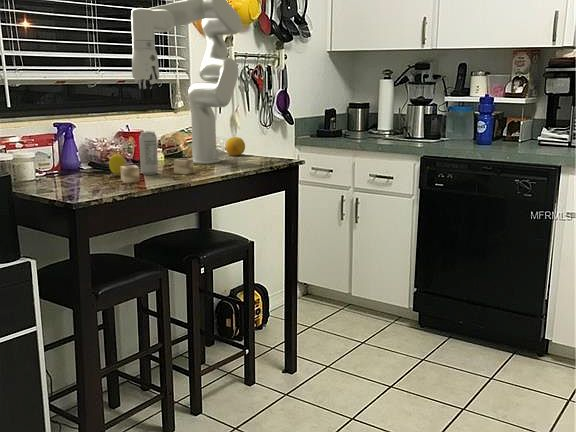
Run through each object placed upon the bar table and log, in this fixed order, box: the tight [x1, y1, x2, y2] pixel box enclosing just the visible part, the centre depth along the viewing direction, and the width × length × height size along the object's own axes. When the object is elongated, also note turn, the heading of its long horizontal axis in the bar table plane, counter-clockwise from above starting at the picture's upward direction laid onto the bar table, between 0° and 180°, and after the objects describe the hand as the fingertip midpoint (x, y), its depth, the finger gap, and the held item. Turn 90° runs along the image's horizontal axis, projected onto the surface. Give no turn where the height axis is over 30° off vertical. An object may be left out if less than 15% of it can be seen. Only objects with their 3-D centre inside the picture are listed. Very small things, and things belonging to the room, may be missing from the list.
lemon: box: [108, 152, 126, 176], centre depth 221 cm, size 6×6×8 cm
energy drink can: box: [138, 130, 159, 176], centre depth 224 cm, size 6×6×15 cm
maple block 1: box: [120, 164, 141, 184], centre depth 211 cm, size 5×5×5 cm
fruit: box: [224, 136, 246, 157], centre depth 270 cm, size 9×8×8 cm
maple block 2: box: [173, 157, 194, 175], centre depth 228 cm, size 5×5×5 cm
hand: (145, 100), depth 219 cm, fingers closed
